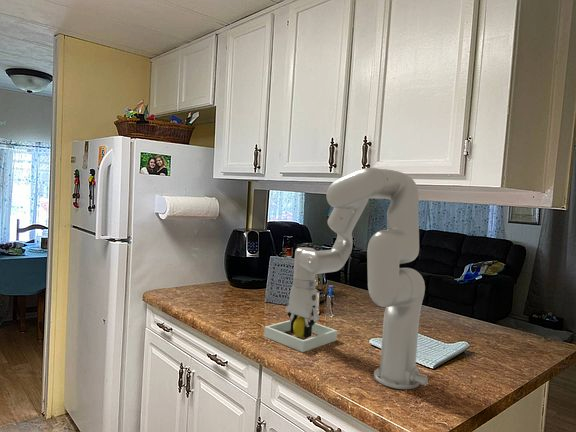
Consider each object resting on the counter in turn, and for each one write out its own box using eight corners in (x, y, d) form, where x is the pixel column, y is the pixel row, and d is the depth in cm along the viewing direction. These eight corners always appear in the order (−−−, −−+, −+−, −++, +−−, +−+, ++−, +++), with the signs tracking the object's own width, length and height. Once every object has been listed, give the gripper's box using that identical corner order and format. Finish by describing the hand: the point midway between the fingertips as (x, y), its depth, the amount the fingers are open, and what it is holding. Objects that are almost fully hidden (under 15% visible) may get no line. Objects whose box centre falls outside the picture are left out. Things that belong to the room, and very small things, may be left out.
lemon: (295, 341, 146) (296, 318, 145) (290, 335, 151) (292, 313, 150) (310, 340, 147) (311, 318, 147) (305, 335, 152) (306, 313, 152)
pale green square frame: (336, 340, 149) (337, 330, 149) (302, 352, 136) (303, 341, 136) (298, 326, 162) (299, 317, 161) (264, 336, 149) (264, 326, 148)
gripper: (330, 287, 145) (326, 339, 146) (293, 277, 156) (290, 326, 158) (316, 289, 139) (312, 344, 140) (278, 280, 151) (275, 330, 152)
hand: (300, 334), depth 149 cm, fingers closed on lemon, 5 cm apart
